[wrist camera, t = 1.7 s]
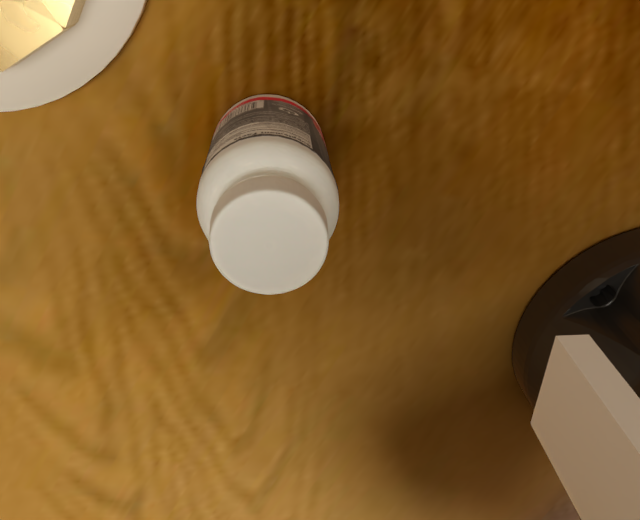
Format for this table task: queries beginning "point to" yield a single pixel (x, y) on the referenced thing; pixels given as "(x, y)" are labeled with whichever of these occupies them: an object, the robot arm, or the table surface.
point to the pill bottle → (268, 195)
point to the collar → (33, 26)
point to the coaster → (71, 55)
